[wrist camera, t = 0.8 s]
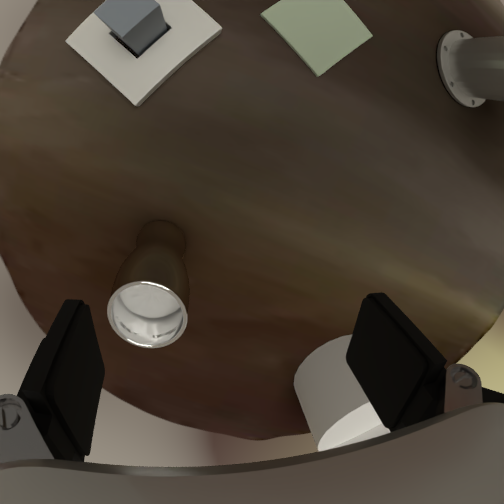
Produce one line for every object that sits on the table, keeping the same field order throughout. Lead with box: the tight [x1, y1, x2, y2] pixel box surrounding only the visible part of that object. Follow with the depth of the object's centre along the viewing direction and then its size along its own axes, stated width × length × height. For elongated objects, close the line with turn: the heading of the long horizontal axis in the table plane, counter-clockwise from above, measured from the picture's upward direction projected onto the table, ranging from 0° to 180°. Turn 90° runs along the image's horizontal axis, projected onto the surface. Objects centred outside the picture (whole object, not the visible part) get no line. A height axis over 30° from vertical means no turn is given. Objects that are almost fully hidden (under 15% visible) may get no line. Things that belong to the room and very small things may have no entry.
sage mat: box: [260, 0, 372, 77], centre depth 29 cm, size 10×10×1 cm
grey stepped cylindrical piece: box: [294, 335, 390, 451], centre depth 40 cm, size 17×17×28 cm
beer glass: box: [107, 220, 190, 348], centre depth 30 cm, size 7×7×15 cm
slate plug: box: [93, 0, 168, 56], centre depth 22 cm, size 4×4×10 cm
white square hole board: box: [66, 0, 222, 106], centre depth 25 cm, size 12×12×2 cm
